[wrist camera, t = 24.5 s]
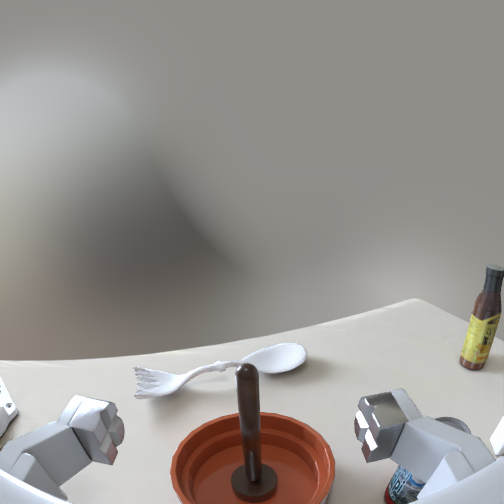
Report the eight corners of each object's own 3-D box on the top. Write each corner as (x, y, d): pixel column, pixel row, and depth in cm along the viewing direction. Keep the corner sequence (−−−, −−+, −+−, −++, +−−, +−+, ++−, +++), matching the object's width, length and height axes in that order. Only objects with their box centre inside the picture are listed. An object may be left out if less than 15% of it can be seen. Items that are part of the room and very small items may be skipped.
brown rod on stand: (223, 487, 26) (198, 366, 21) (252, 464, 29) (244, 341, 25) (257, 510, 22) (248, 395, 18) (286, 483, 26) (294, 361, 22)
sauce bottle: (476, 375, 39) (504, 275, 34) (453, 362, 44) (475, 266, 40) (489, 362, 41) (513, 268, 36) (467, 351, 47) (488, 261, 42)
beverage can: (377, 482, 24) (406, 420, 21) (425, 469, 24) (459, 405, 21) (389, 524, 18) (430, 470, 15) (440, 506, 17) (488, 446, 15)
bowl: (154, 486, 25) (140, 460, 24) (248, 423, 38) (246, 394, 36) (262, 571, 14) (261, 561, 13) (352, 473, 27) (362, 446, 25)
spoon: (135, 379, 48) (131, 364, 47) (292, 346, 59) (292, 332, 58) (138, 410, 40) (133, 395, 39) (315, 368, 51) (316, 353, 50)
